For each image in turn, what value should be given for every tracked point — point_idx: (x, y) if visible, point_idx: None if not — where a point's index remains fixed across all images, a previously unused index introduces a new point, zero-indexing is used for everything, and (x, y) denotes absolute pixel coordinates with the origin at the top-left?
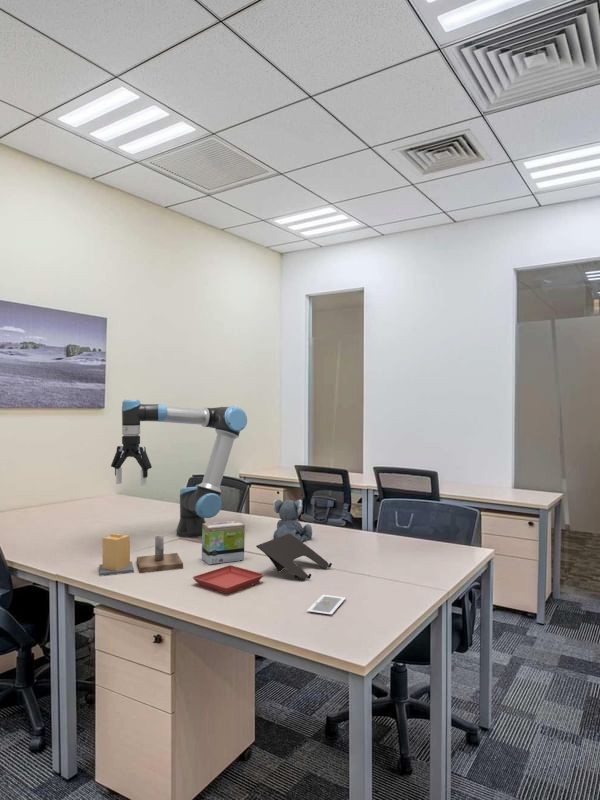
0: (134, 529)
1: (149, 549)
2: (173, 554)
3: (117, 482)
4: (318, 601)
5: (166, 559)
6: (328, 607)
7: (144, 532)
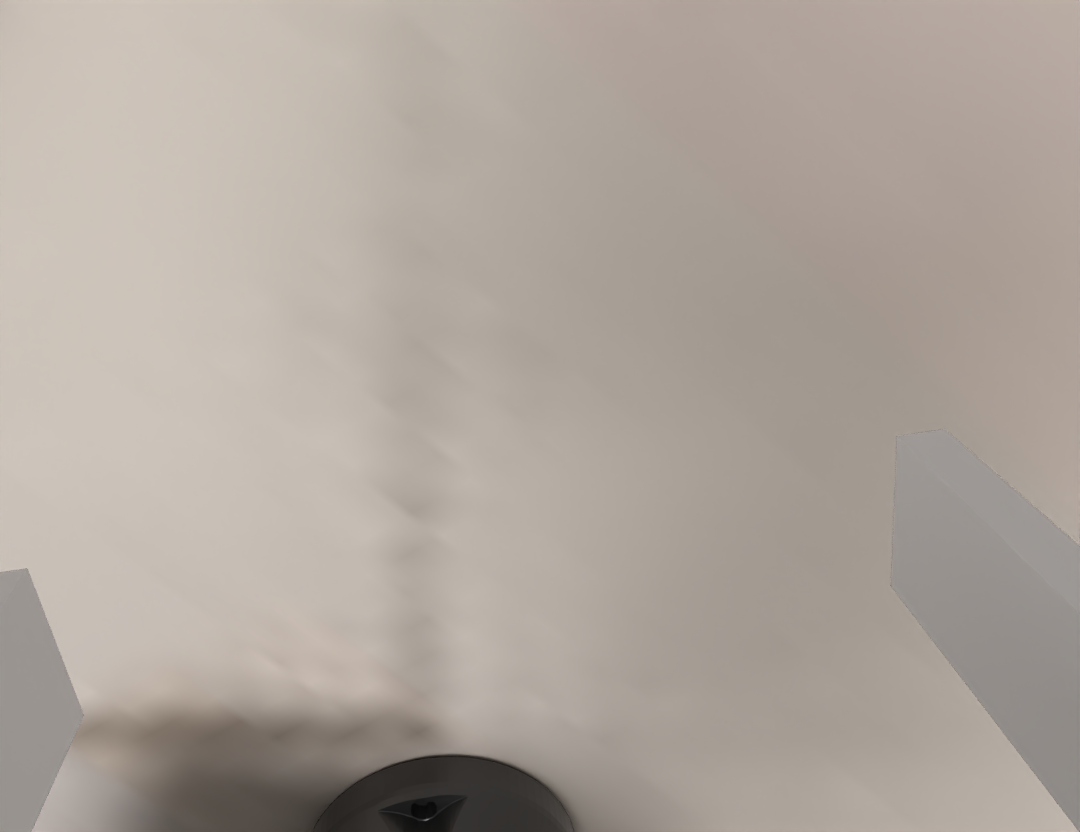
0: None
1: (339, 338)
2: None
3: (916, 461)
4: None
5: None
6: None
7: (860, 702)
